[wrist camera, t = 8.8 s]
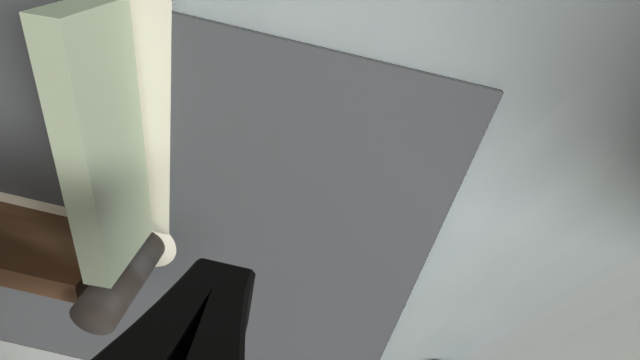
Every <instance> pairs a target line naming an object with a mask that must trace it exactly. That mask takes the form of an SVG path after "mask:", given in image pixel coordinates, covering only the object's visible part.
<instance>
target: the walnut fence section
mask: <svg viewBox="0 0 640 360" xmlns="http://www.w3.org/2000/svg"><path fill="white" fill-rule="evenodd" d="M164 251H165V246H164V243H163V241H162V239H161V238H160V237H159V236H158V235H156V234H155V233H153V232H151V234H150V235H149V237H148V238H147V239H146V241H145V242H144V244H143V245H142V246H141V248H140V249H139V250H138V252H137V253H136V255H135V256H134V257H133V259H132V260H131V262H130V263H129V264H128V266H127V267H126V269H125V270H124V271H123V273H122V274H121V275H120V277H119V278H118V280H117V281H116V282H115V284H114V285H113V287H112V288H111V289H109V288H103V287H98V286H92V285H87V284H83V280H82V276H81V272H80V268H79V264H78V259H77V255H76V251H75V247H74V243H73V238H72V234H71V230H70V226H69V221H68V217H65V216H61V215H57V214H53V213H48V212H44V211H40V210H35V209H31V208H27V207H23V206H18V205H14V204H10V203H6V202H1V201H0V286H2V287H7V288H11V289H15V290H19V291H24V292H28V293H32V294H37V295H41V296H45V297H49V298H54V299H58V300H62V301H67V302H71V303H74V304H73V306H72V307H71V308H70V311H69V315H70V318H71V320H72V321H73V322H74V323H75V325H77V326H78V327H79V328H80V329H82V330H84V331H86V332H88V333H91V334H94V335H108V334H111V333H112V332H113V331H114V330H115V328H116V327H117V325H118V324H119V322H120V321H121V319H122V317H123V316H124V314H125V313H126V311H127V310H128V308H129V307H130V305H131V303H132V302H133V300H134V299H135V297H136V296H137V294H138V292H139V291H140V289H141V288H142V286H143V285H144V283H145V282H146V280H147V278H148V277H149V275H150V274H151V272H152V271H153V269H154V267H155V266H156V264H157V263H158V261H159V260H160V258H161V257H162V255H163V253H164Z"/></svg>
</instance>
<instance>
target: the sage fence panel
mask: <svg viewBox="0 0 640 360" xmlns="http://www.w3.org/2000/svg"><path fill="white" fill-rule="evenodd" d="M19 15H20V19H21V23H22V28H23V32H24V36H25V40H26V45H27V49H28V53H29V57H30V61H31V66H32V70H33V74H34V78H35V82H36V87H37V91H38V95H39V99H40V103H41V108H42V112H43V116H44V120H45V125H46V129H47V133H48V137H49V141H50V146H51V150H52V154H53V158H54V162H55V167H56V171H57V175H58V179H59V184H60V188H61V192H62V196H63V200H64V205H65V209H66V213H67V217H68V221H69V226H70V230H71V234H72V238H73V243H74V247H75V251H76V255H77V259H78V264H79V268H80V272H81V276H82V280H83V284H87V285H92V286H98V287H103V288H109V289H111V288H112V287H113V285H114V284H115V282H116V281H117V280H118V278H119V277H120V275H121V274H122V273H123V271H124V270H125V269H126V267H127V266H128V264H129V263H130V262H131V260H132V259H133V257H134V256H135V255H136V253H137V252H138V250H139V249H140V248H141V246H142V245H143V244H144V242H145V241H146V239H147V238H148V237H149V235H150V234H151V232H152V231H153V223H152V213H151V203H150V193H149V184H148V174H147V164H146V154H145V145H144V135H143V125H142V115H141V105H140V96H139V86H138V76H137V66H136V57H135V47H134V37H133V27H132V17H131V8H130V0H62V1H58V2H54V3H51V4H47V5H43V6H39V7H35V8H32V9H28V10H24V11H20V12H19Z"/></svg>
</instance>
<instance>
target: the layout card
mask: <svg viewBox="0 0 640 360" xmlns="http://www.w3.org/2000/svg"><path fill="white" fill-rule="evenodd" d="M58 1H62V0H0V201H1V202H6V203H10V204H14V205H18V206H23V207H27V208H31V209H35V210H40V211H44V212H48V213H53V214H57V215H61V216H65V217H67V213H66V209H65V205H64V200H63V196H62V192H61V188H60V184H59V179H58V175H57V171H56V167H55V162H54V158H53V154H52V150H51V146H50V141H49V137H48V133H47V129H46V125H45V120H44V116H43V112H42V108H41V103H40V99H39V95H38V91H37V87H36V82H35V78H34V74H33V70H32V66H31V61H30V57H29V53H28V49H27V45H26V40H25V36H24V32H23V28H22V23H21V19H20V15H19V12H20V11H24V10H28V9H32V8H35V7H39V6H43V5H47V4H51V3H54V2H58ZM130 8H131V17H132V27H133V37H134V47H135V57H136V66H137V76H138V86H139V96H140V105H141V115H142V125H143V135H144V145H145V154H146V164H147V174H148V184H149V193H150V203H151V213H152V223H153V231H152V232H153V233H155V234H156V235H158V236H159V237H160V238H161V239H162V241H163V243H164V246H165V251H164V253H163V255H162V257H161V258H160V260H159V261H158V263H157V264H156V266H155V267H154V269H153V271H152V272H151V274H150V275H149V277H148V278H147V280H146V282H145V283H144V285H143V286H142V288H141V289H140V291H139V292H138V294H137V296H136V297H135V299H134V300H133V302H132V303H131V305H130V307H129V308H128V310H127V311H126V313H125V314H124V316H123V317H122V319H121V321H120V322H119V324H118V325H117V327H116V328H115V330H114V331H113V332H112V333H111V334H108V335H94V334H91V333H88V332H86V331H84V330H82V329H80V328H79V327H78V326H77V325H75V323H74V322H73V321H72V320H71V318H70V315H69V311H70V308H71V307H72V306H73V304H74V303H71V302H67V301H62V300H58V299H54V298H49V297H45V296H41V295H37V294H32V293H28V292H24V291H19V290H15V289H11V288H7V287H2V286H0V340H2V341H6V342H10V343H15V344H19V345H23V346H28V347H32V348H36V349H40V350H45V351H49V352H53V353H58V354H62V355H66V356H71V357H75V358H79V359H84V360H91V359H92V358H93V357H95V356H96V355H97V354H98V353H99V352H101V351H102V350H103V349H104V348H105V347H106V346H108V345H109V344H110V343H111V342H112V341H114V340H115V339H116V338H117V337H118V336H119V335H121V334H122V333H123V332H124V331H125V330H127V329H128V328H129V327H130V326H131V325H132V324H133V323H134V322H135V321H136V320H138V319H139V318H140V317H141V316H142V315H143V314H144V313H145V312H146V311H147V310H148V309H149V308H150V307H152V306H153V305H154V304H155V303H156V302H157V301H158V300H159V299H160V298H161V297H162V296H163V295H164V294H165V293H166V292H167V291H168V290H169V289H170V288H171V287H172V286H173V285H174V284H175V283H176V282H177V281H178V280H179V279H180V278H181V277H182V276H183V275H184V274H185V273H186V271H187V270H188V269H189V268H190V267H191V266H192V265H193V264H194V263H195V261H196V260H198V259H200V258H205V259H209V260H213V261H218V262H222V263H226V264H231V265H235V266H240V267H244V268H248V269H252V270H253V271H254V273H255V274H256V275H255V282H254V288H253V295H252V301H251V307H250V314H249V320H248V325H247V329H246V333H245V360H380V359H381V356H382V354H383V352H384V350H385V348H386V346H387V343H388V341H389V339H390V337H391V335H392V333H393V331H394V328H395V326H396V324H397V322H398V320H399V318H400V315H401V313H402V311H403V309H404V307H405V305H406V302H407V300H408V298H409V296H410V294H411V292H412V289H413V287H414V285H415V283H416V281H417V279H418V277H419V274H420V272H421V270H422V268H423V266H424V264H425V261H426V259H427V257H428V255H429V253H430V251H431V248H432V246H433V244H434V242H435V240H436V238H437V235H438V233H439V231H440V229H441V227H442V225H443V223H444V220H445V218H446V216H447V214H448V212H449V210H450V207H451V205H452V203H453V201H454V199H455V197H456V194H457V192H458V190H459V188H460V186H461V184H462V181H463V179H464V177H465V175H466V173H467V171H468V169H469V166H470V164H471V162H472V160H473V158H474V156H475V153H476V151H477V149H478V147H479V145H480V143H481V140H482V138H483V136H484V134H485V132H486V130H487V127H488V125H489V123H490V121H491V119H492V117H493V115H494V112H495V110H496V108H497V106H498V104H499V102H500V99H501V97H502V95H503V91H502V90H500V89H495V88H491V87H487V86H483V85H479V84H474V83H470V82H466V81H462V80H458V79H454V78H449V77H445V76H441V75H437V74H433V73H429V72H424V71H420V70H416V69H412V68H408V67H404V66H399V65H395V64H391V63H387V62H383V61H379V60H374V59H370V58H366V57H362V56H358V55H354V54H349V53H345V52H341V51H337V50H333V49H329V48H324V47H320V46H316V45H312V44H308V43H303V42H299V41H295V40H291V39H287V38H283V37H278V36H274V35H270V34H266V33H262V32H258V31H253V30H249V29H245V28H241V27H237V26H233V25H228V24H224V23H220V22H216V21H212V20H208V19H203V18H199V17H195V16H191V15H187V14H183V13H178V12H174V11H172V0H130Z"/></svg>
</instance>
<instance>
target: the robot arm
mask: <svg viewBox="0 0 640 360" xmlns="http://www.w3.org/2000/svg"><path fill="white" fill-rule="evenodd" d="M255 275H256V274H255V273H254V271H253V270H252V269H248V268H244V267H240V266H235V265H231V264H226V263H222V262H218V261H213V260H209V259H205V258H200V259H198V260H196V261H195V263H194V264H193V265H192V266H191V267H190V268H189V269H188V270H187V271H186V273H185V274H184V275H183V276H182V277H181V278H180V279H179V280H178V281H177V282H176V283H175V284H174V285H173V286H172V287H171V288H170V289H169V290H168V291H167V292H166V293H165V294H164V295H163V296H162V297H161V298H160V299H159V300H158V301H157V302H156V303H155V304H154V305H153V306H152V307H150V308H149V309H148V310H147V311H146V312H145V313H144V314H143V315H142V316H141V317H140V318H139V319H138V320H136V321H135V322H134V323H133V324H132V325H131V326H130V327H129V328H128V329H127V330H125V331H124V332H123V333H122V334H121V335H119V336H118V337H117V338H116V339H115V340H114V341H112V342H111V343H110V344H109V345H108V346H106V347H105V348H104V349H103V350H102V351H101V352H99V353H98V354H97V355H96V356H95V357H93V358H92V359H91V360H245V333H246V329H247V325H248V320H249V314H250V307H251V301H252V295H253V288H254V282H255Z"/></svg>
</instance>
